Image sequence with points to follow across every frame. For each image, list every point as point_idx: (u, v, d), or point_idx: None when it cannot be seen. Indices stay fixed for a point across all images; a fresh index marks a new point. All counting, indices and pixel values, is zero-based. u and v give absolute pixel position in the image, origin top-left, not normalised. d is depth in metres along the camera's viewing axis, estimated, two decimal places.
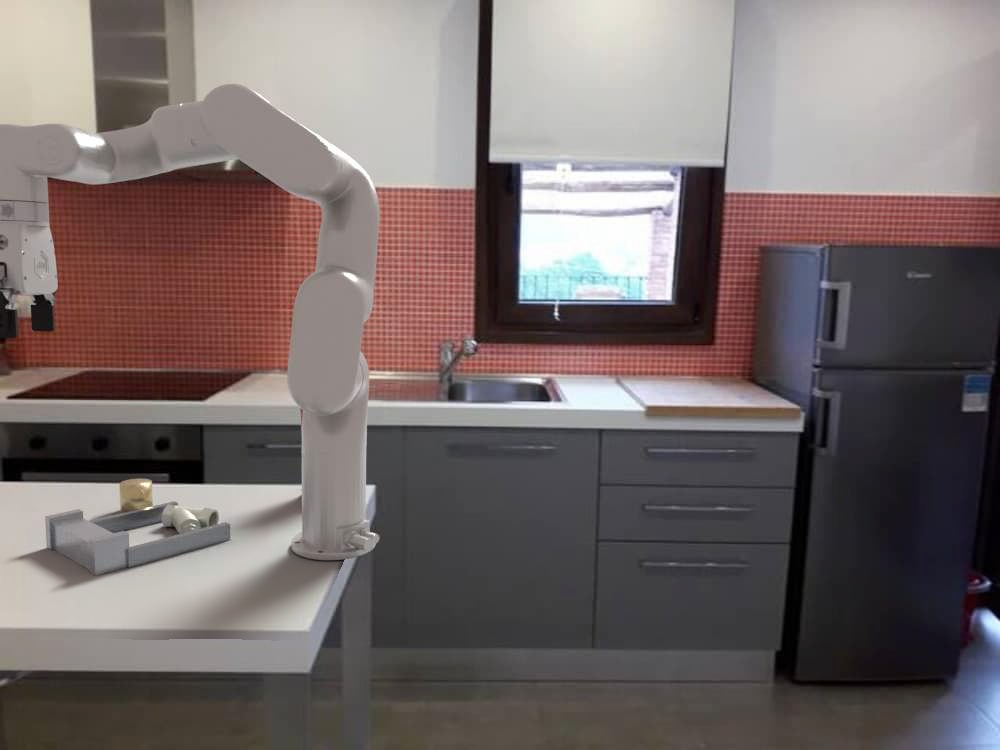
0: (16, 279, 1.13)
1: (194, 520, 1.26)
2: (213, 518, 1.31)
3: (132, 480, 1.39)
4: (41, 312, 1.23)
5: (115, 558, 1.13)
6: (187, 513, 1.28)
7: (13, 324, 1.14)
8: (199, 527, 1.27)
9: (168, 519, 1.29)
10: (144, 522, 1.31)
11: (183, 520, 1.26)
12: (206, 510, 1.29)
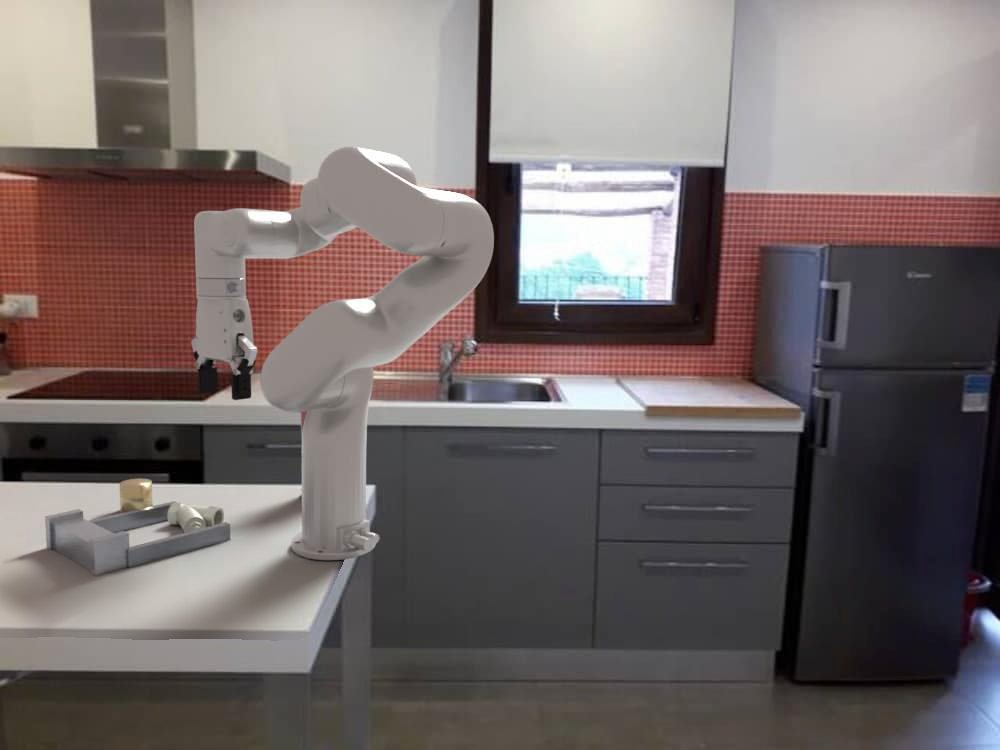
0: None
1: (199, 518, 1.27)
2: (218, 517, 1.32)
3: (132, 480, 1.39)
4: (209, 375, 1.35)
5: (115, 558, 1.13)
6: (192, 511, 1.29)
7: (249, 386, 1.30)
8: (204, 525, 1.28)
9: (174, 517, 1.30)
10: (144, 522, 1.31)
11: (188, 518, 1.27)
12: (211, 508, 1.30)
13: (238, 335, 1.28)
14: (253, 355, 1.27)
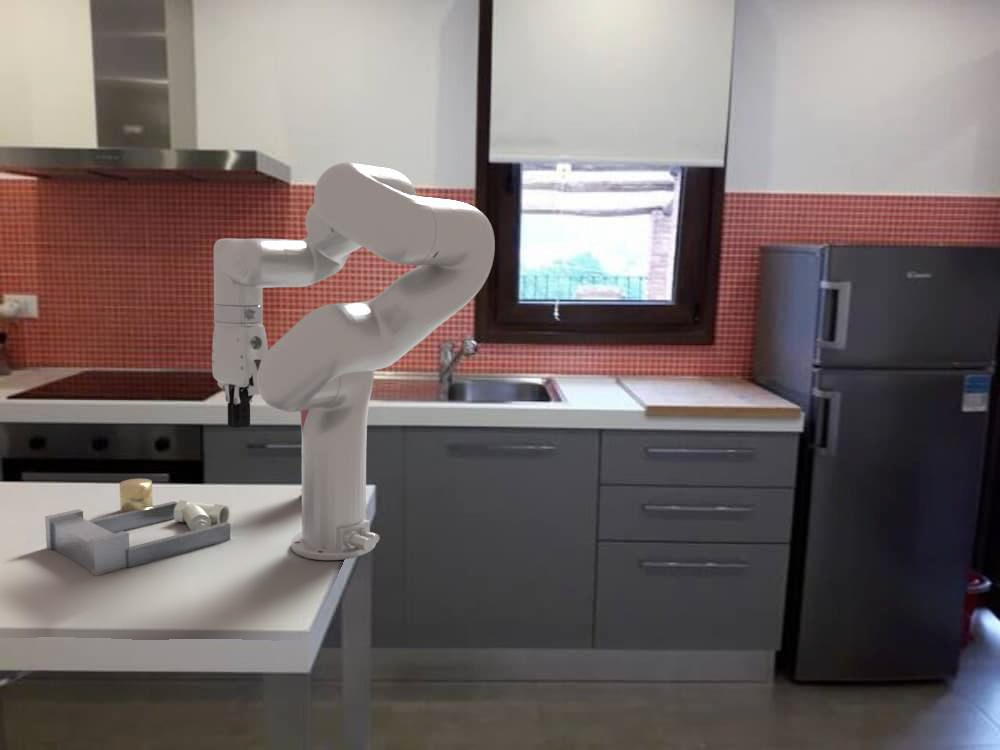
0: None
1: (205, 516, 1.29)
2: (224, 515, 1.33)
3: (132, 480, 1.39)
4: None
5: (115, 558, 1.13)
6: (198, 509, 1.30)
7: (248, 414, 1.35)
8: (210, 523, 1.29)
9: (180, 515, 1.32)
10: (144, 522, 1.31)
11: (194, 516, 1.28)
12: (217, 506, 1.31)
13: (252, 368, 1.30)
14: None
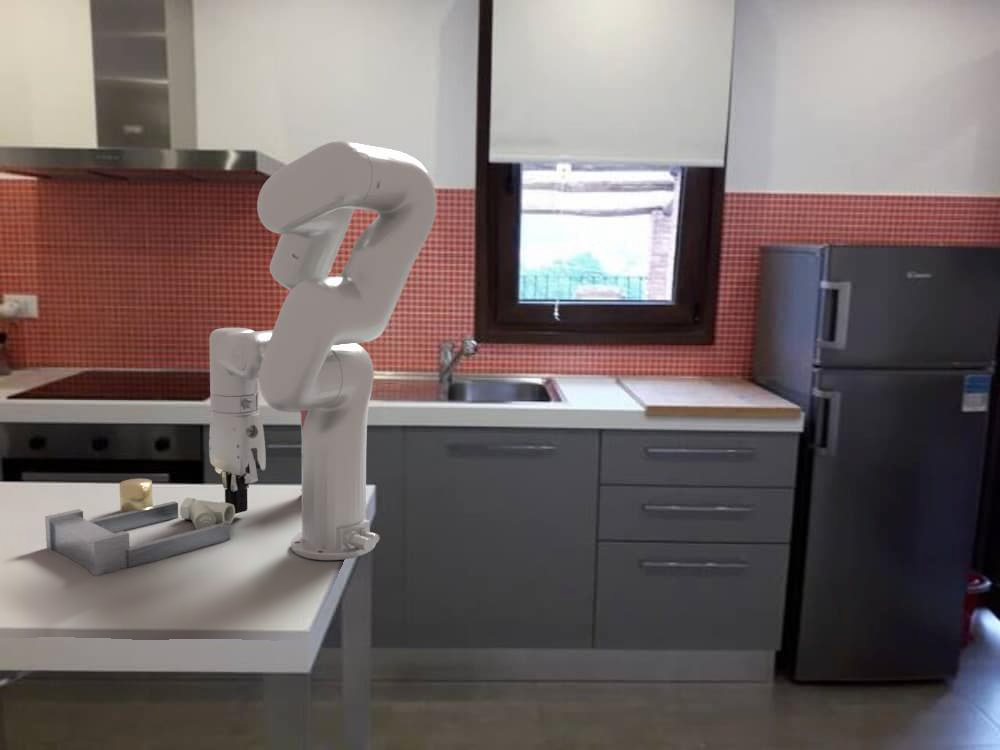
0: (263, 460, 1.33)
1: (209, 514, 1.30)
2: (229, 512, 1.34)
3: (132, 480, 1.39)
4: None
5: (115, 558, 1.13)
6: (203, 506, 1.31)
7: (245, 499, 1.36)
8: (214, 521, 1.30)
9: (186, 512, 1.33)
10: (144, 522, 1.31)
11: (199, 513, 1.29)
12: (222, 504, 1.32)
13: (249, 456, 1.32)
14: None
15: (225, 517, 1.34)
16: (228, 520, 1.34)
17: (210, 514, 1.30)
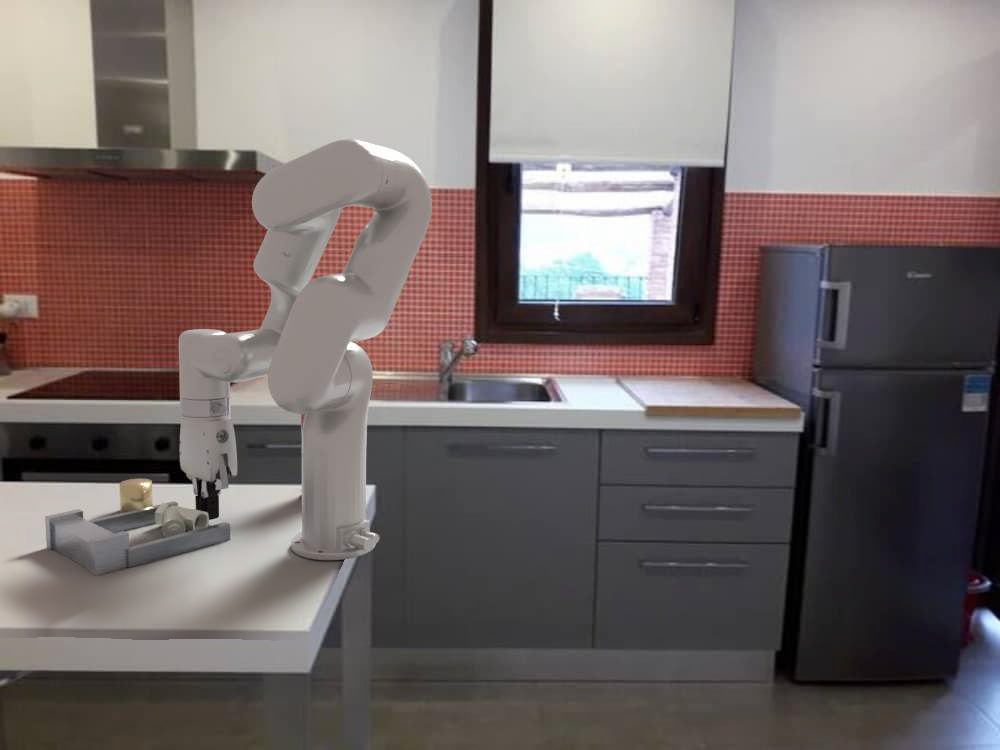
0: (234, 465, 1.29)
1: (178, 521, 1.25)
2: (204, 520, 1.30)
3: (132, 480, 1.39)
4: None
5: (115, 558, 1.13)
6: (175, 513, 1.27)
7: (217, 506, 1.32)
8: (184, 528, 1.26)
9: (160, 518, 1.29)
10: (144, 522, 1.31)
11: (167, 520, 1.25)
12: (194, 511, 1.28)
13: (219, 462, 1.27)
14: None
15: (199, 525, 1.30)
16: None
17: (179, 521, 1.25)
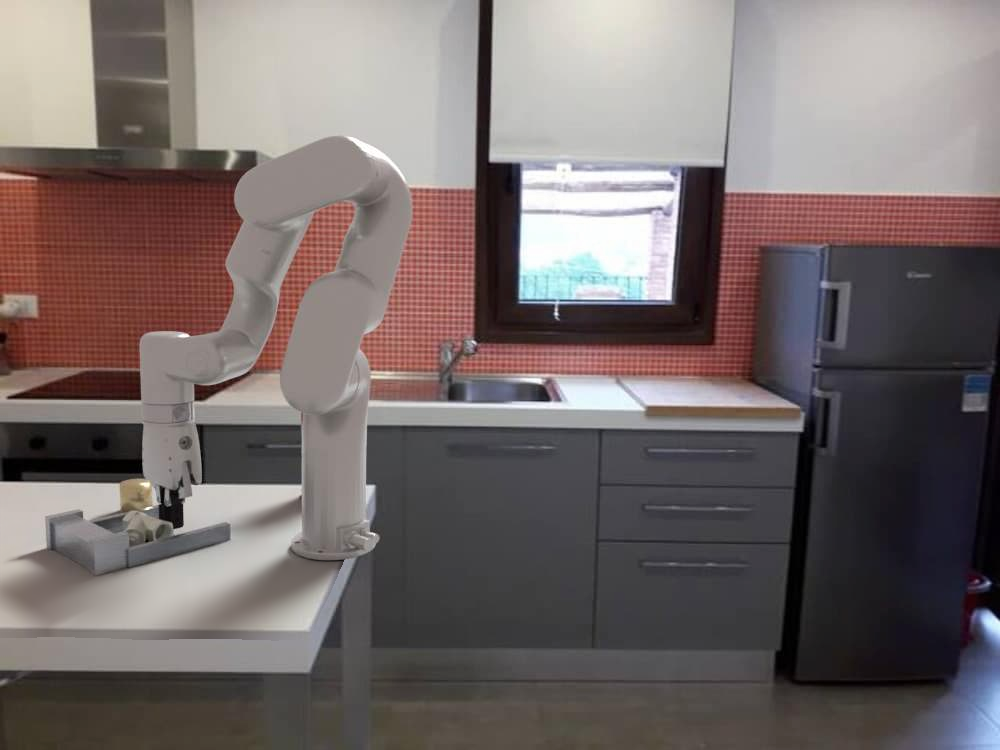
0: (199, 473, 1.24)
1: (137, 531, 1.21)
2: (168, 531, 1.25)
3: (132, 480, 1.39)
4: None
5: (115, 558, 1.13)
6: (137, 522, 1.23)
7: (181, 515, 1.27)
8: (143, 539, 1.21)
9: (126, 526, 1.25)
10: None
11: (127, 529, 1.21)
12: (156, 521, 1.23)
13: (182, 470, 1.23)
14: None
15: (164, 535, 1.25)
16: None
17: (138, 531, 1.21)
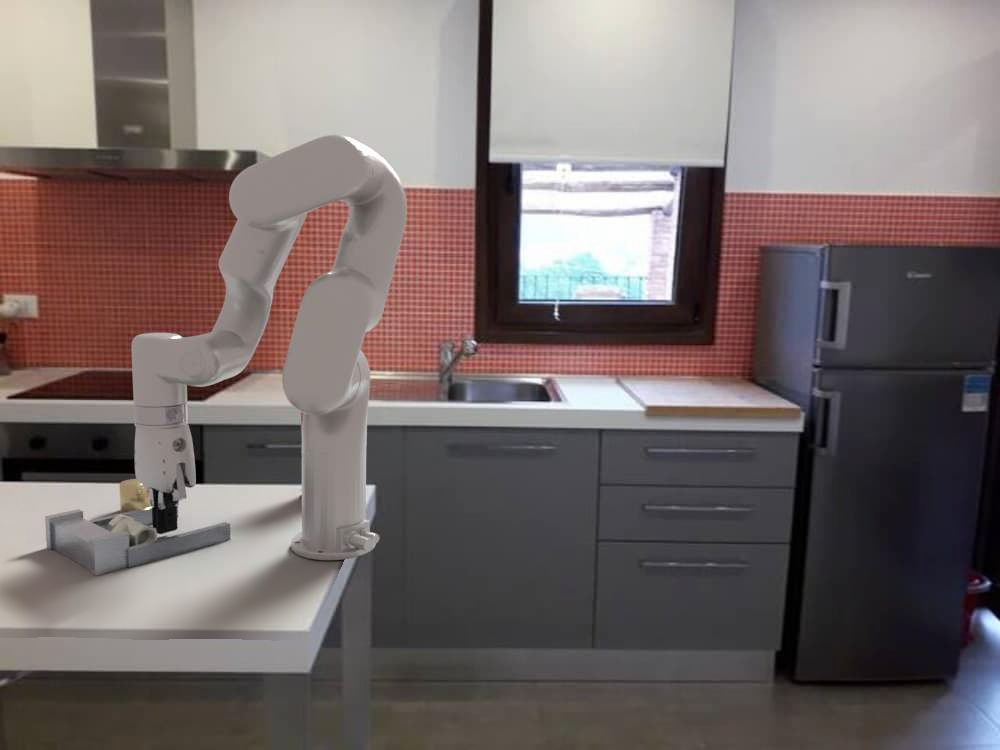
0: (193, 475, 1.23)
1: None
2: (152, 536, 1.22)
3: (132, 480, 1.39)
4: None
5: (115, 558, 1.13)
6: (121, 527, 1.21)
7: (175, 518, 1.27)
8: None
9: (112, 530, 1.24)
10: (144, 522, 1.31)
11: None
12: (139, 527, 1.21)
13: (176, 472, 1.22)
14: None
15: (148, 541, 1.22)
16: None
17: None
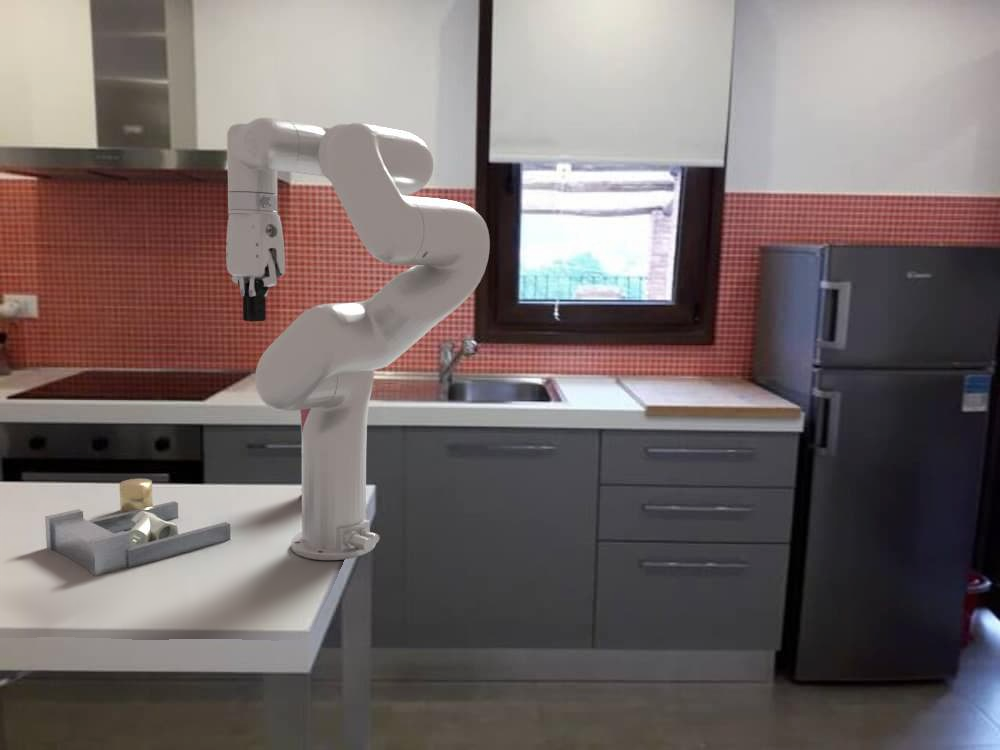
0: (282, 263, 1.29)
1: (141, 532, 1.21)
2: (173, 533, 1.24)
3: (132, 480, 1.39)
4: None
5: (115, 558, 1.13)
6: (143, 523, 1.23)
7: (263, 309, 1.32)
8: (146, 540, 1.21)
9: (134, 526, 1.26)
10: None
11: (130, 530, 1.21)
12: (160, 523, 1.22)
13: (268, 257, 1.28)
14: (270, 285, 1.29)
15: None
16: None
17: (141, 532, 1.21)
